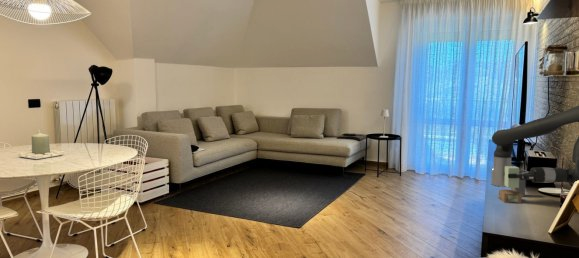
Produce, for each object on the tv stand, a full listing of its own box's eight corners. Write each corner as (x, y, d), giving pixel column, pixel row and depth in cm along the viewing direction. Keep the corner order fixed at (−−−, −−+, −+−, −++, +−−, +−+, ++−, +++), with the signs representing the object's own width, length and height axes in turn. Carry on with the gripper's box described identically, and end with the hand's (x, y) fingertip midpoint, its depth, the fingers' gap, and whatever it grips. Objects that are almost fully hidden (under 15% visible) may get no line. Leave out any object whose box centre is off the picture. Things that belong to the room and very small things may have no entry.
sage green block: (508, 187, 200) (508, 168, 199) (504, 185, 205) (504, 166, 204) (518, 187, 199) (519, 168, 198) (514, 185, 204) (515, 166, 203)
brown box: (504, 203, 200) (504, 193, 200) (498, 198, 208) (498, 189, 208) (521, 203, 199) (521, 193, 198) (514, 199, 207) (515, 189, 206)
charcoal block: (514, 196, 211) (515, 178, 210) (511, 194, 216) (511, 176, 215) (524, 196, 210) (525, 178, 209) (520, 194, 215) (521, 176, 214)
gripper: (536, 165, 206) (501, 165, 208) (549, 170, 192) (511, 170, 194) (535, 179, 206) (500, 179, 209) (549, 185, 192) (511, 185, 195)
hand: (506, 174), depth 202 cm, fingers closed on sage green block, 5 cm apart
